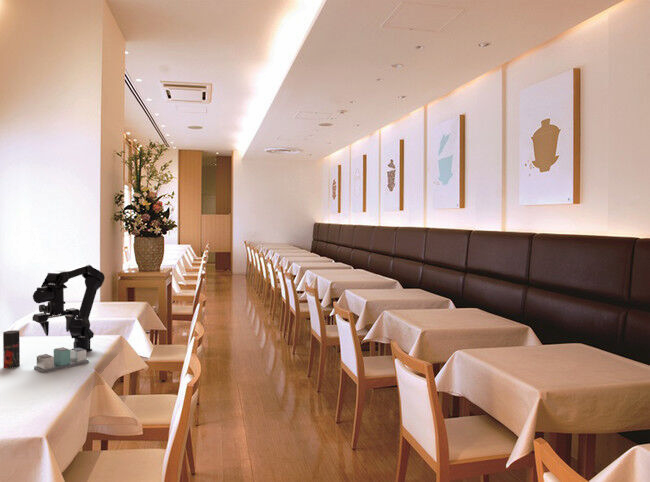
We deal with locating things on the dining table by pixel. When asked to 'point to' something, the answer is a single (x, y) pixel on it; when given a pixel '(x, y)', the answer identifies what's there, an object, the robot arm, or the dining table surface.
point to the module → (62, 356)
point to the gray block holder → (47, 364)
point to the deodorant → (11, 349)
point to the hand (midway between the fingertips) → (57, 333)
